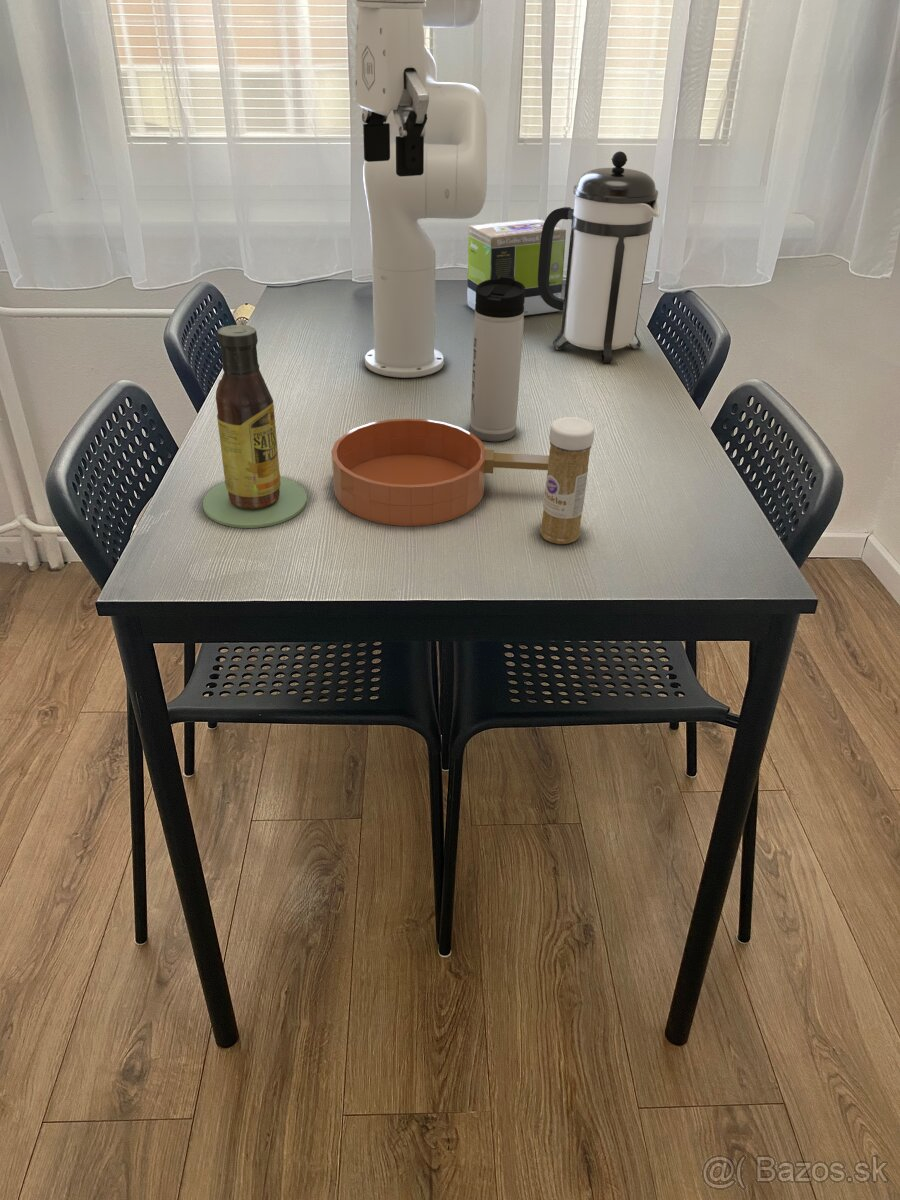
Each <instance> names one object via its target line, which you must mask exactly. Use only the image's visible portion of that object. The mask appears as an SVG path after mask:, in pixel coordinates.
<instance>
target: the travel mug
mask: <svg viewBox="0 0 900 1200" xmlns="http://www.w3.org/2000/svg"><path fill="white" fill-rule="evenodd" d="M524 301H525V286H524V285H523V284H522V283H520V282H518V281H515V278H514V277H507V276H501V277H500V279H490V280H486V281H483V282H481V283H480V284H478V285H477V287H476V301H475V302H476V304H475V310H474V317H473V318H474V320H473V323H474V324H473V346H472V370H471V371H472V372H471V393H470V394H471V395H470V396H471V397H470V423H469V424H470V426H469V432H470V433H472V434H474V435H475V436H476V437H477V438H478V439H479V440H481V441H484V442H485V441H486V442H495V443H496V442H504V441H507V440H510V439H512V438H513V437H515V435H516V433H517V421H518V420H517V419H518V405H519V393H520V392H519V390H520V379H521V378H520V376H521V363H522V361H521V360H522V349H523V347H522V346H523V335H524V321H525V318H524V317H525V316H524Z"/></svg>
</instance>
